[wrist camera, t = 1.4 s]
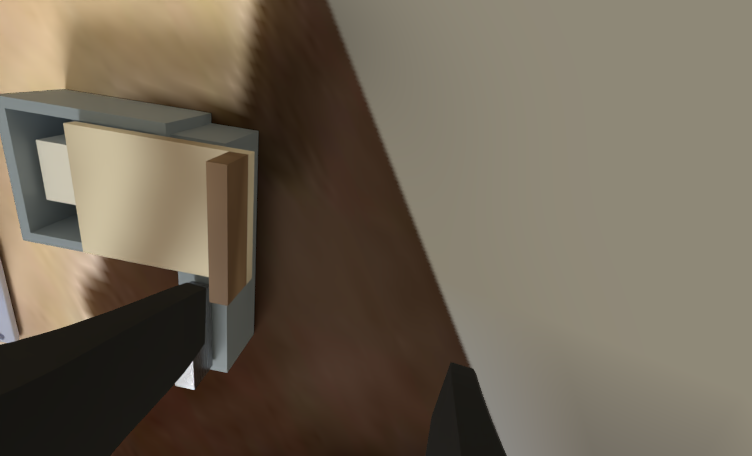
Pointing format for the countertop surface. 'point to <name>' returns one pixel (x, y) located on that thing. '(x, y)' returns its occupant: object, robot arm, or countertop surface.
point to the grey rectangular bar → (205, 355)
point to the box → (59, 220)
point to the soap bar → (56, 169)
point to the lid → (165, 203)
